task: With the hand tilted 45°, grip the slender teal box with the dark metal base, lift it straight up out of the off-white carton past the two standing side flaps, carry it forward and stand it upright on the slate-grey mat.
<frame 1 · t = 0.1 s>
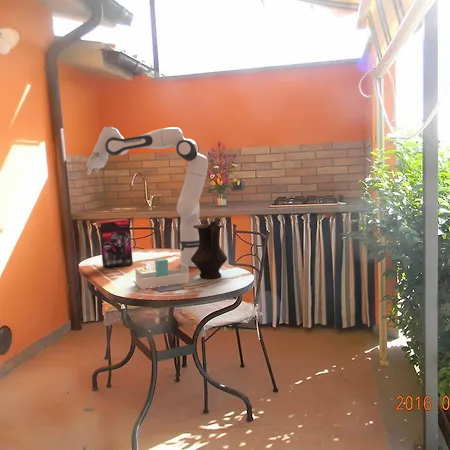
hand: (91, 174, 291), 54 cm above the table, tool tilted 30°, fingers open, 8 cm apart
teal box: (162, 283, 249), resting in carton
jug: (210, 277, 257), on the table
carton: (162, 283, 249), on the table
graphics card box: (117, 266, 297), on the table
slate mat: (169, 288, 238), on the table
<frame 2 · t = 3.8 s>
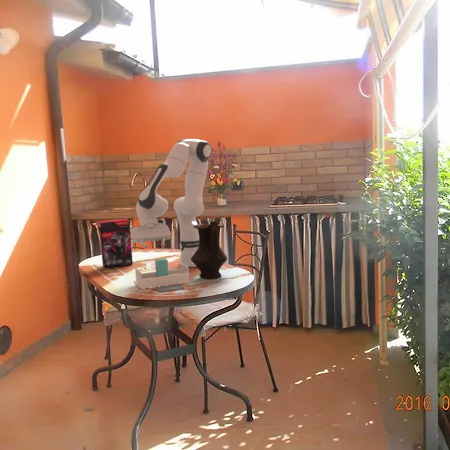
hand: (154, 246, 258), 17 cm above the table, tool tilted 45°, fingers open, 8 cm apart
nothing on the table moved.
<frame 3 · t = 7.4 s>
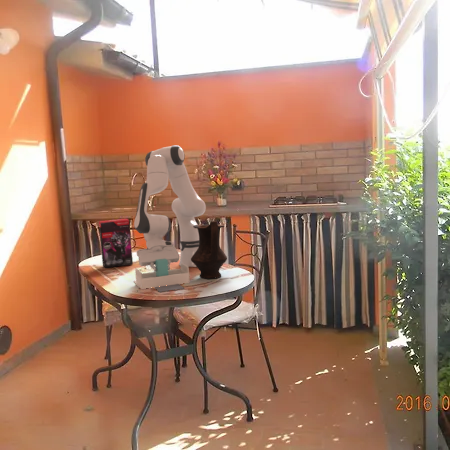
hand: (162, 270, 248), 7 cm above the table, tool tilted 45°, fingers closed on teal box, 5 cm apart
teal box: (162, 283, 249), resting in carton, touching gripper
everything else where it was.
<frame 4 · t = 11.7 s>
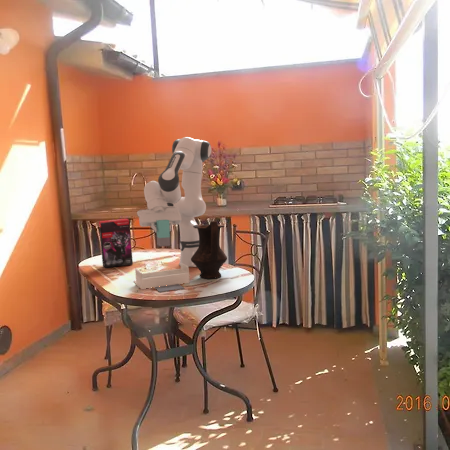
hand: (163, 231, 238), 27 cm above the table, tool tilted 45°, fingers closed on teal box, 5 cm apart
teal box: (163, 245, 239), point 20 cm above the table, touching gripper
everything else where it was.
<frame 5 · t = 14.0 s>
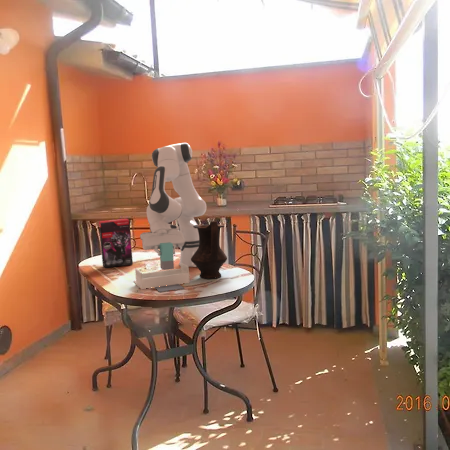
hand: (166, 254, 236), 17 cm above the table, tool tilted 45°, fingers closed on teal box, 5 cm apart
teal box: (167, 268, 237), point 10 cm above the table, touching gripper
everything else where it was.
when the fingers open (9 cm above the table, at t = 15.9 s): teal box drops 1 cm, resting on slate mat.
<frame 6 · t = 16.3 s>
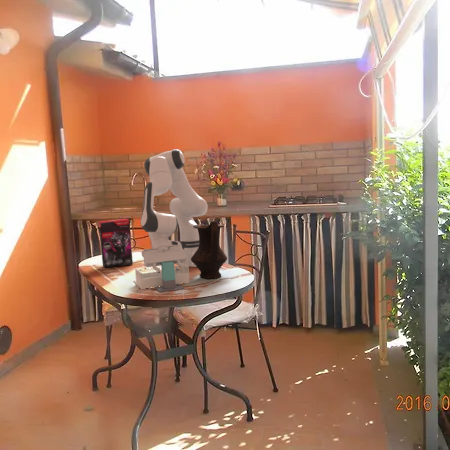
hand: (168, 271, 237), 9 cm above the table, tool tilted 45°, fingers open, 8 cm apart
teal box: (169, 287, 238), resting on slate mat
everything else where it was.
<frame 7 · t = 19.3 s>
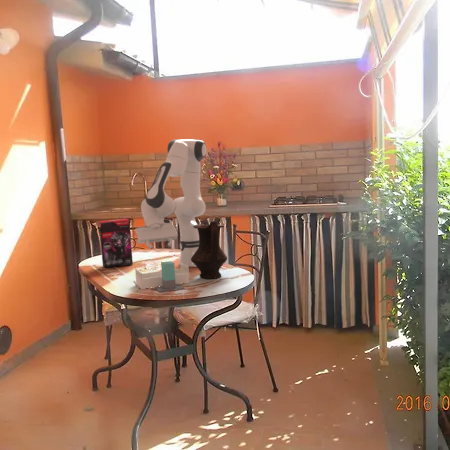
hand: (160, 247, 247), 18 cm above the table, tool tilted 45°, fingers open, 8 cm apart
nothing on the table moved.
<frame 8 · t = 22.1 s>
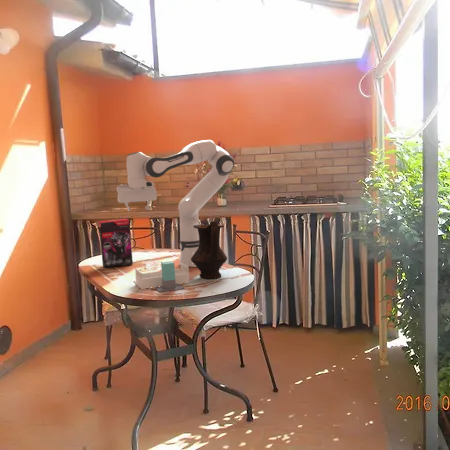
hand: (138, 210, 263), 35 cm above the table, tool pointing down, fingers open, 8 cm apart
nothing on the table moved.
at the end: teal box 0.1 cm off-centre on the slate mat, point 0.5 cm above the slate mat's base; teal box tilted 0°; the gripper is holding nothing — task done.
